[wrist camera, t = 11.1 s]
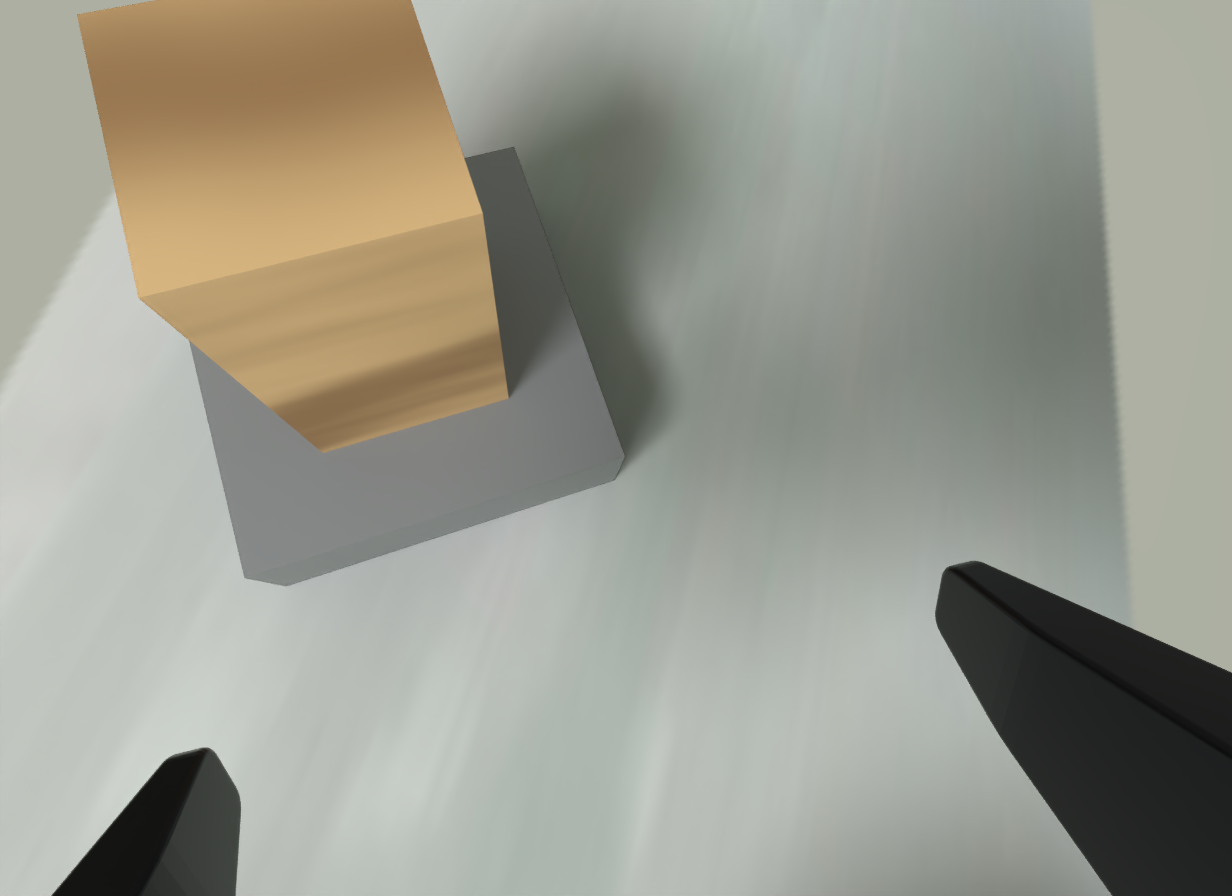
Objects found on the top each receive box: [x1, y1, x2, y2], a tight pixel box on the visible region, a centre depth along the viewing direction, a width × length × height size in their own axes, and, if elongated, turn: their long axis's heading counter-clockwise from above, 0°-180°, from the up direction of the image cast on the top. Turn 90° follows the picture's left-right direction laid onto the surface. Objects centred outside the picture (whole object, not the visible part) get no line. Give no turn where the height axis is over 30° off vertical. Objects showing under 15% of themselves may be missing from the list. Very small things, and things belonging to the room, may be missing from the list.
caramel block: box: [77, 0, 509, 453], centre depth 16 cm, size 5×5×9 cm
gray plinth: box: [189, 147, 625, 586], centre depth 21 cm, size 10×10×3 cm
